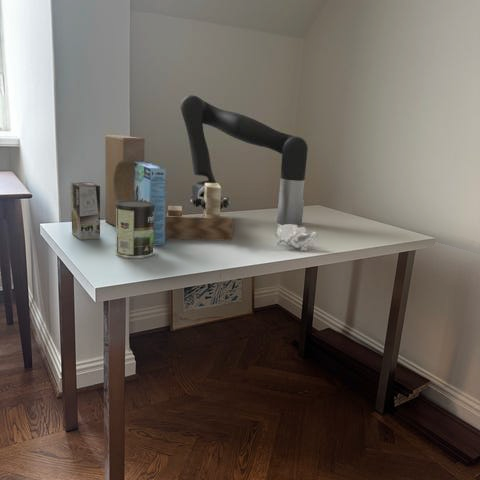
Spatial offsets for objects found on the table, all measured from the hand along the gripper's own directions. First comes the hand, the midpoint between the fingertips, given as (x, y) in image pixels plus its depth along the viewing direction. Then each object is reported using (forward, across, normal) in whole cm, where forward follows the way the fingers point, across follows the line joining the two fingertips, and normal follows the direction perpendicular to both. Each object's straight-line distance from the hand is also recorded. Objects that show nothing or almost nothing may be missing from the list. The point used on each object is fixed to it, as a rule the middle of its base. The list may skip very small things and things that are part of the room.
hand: (212, 206), depth 152 cm
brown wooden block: (-3, -5, +10) cm, 12 cm away
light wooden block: (-3, 0, +10) cm, 10 cm away
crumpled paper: (+11, +25, +11) cm, 30 cm away
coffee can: (+22, -23, +10) cm, 34 cm away
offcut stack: (-3, -12, +10) cm, 16 cm away
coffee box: (+4, -39, +10) cm, 41 cm away
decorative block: (-12, -29, +10) cm, 33 cm away
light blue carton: (+4, -20, +10) cm, 23 cm away
